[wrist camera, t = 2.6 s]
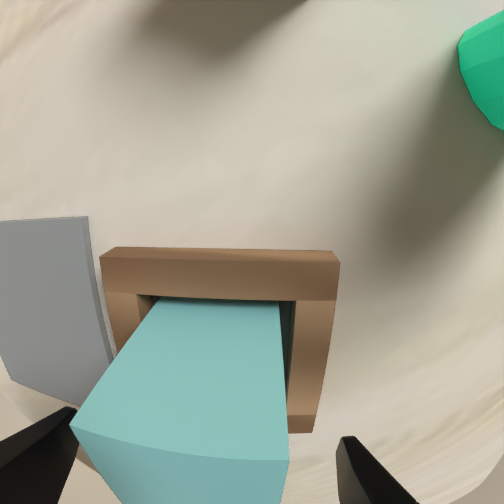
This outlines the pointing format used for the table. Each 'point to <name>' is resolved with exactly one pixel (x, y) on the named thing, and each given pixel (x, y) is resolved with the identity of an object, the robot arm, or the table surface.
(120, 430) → the teal rectangular block
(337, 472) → the robot arm
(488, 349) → the table surface
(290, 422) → the frame
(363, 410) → the table surface
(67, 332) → the mat
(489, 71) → the candle
